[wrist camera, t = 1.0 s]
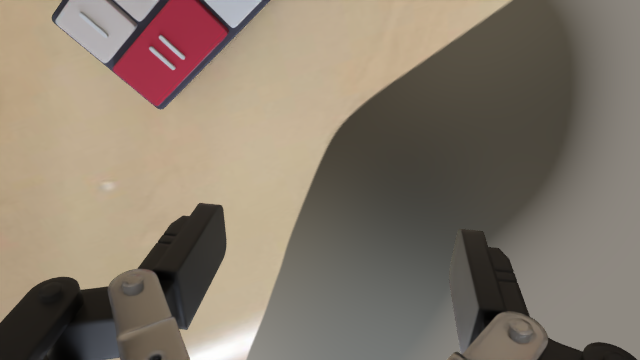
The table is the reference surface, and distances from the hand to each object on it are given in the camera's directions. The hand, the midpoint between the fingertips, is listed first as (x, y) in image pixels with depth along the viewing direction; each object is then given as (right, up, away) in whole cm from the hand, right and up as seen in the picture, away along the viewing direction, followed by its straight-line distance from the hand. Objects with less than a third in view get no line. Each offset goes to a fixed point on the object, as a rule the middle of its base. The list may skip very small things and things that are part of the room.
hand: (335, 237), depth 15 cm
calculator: (-13, +17, +22) cm, 31 cm away
